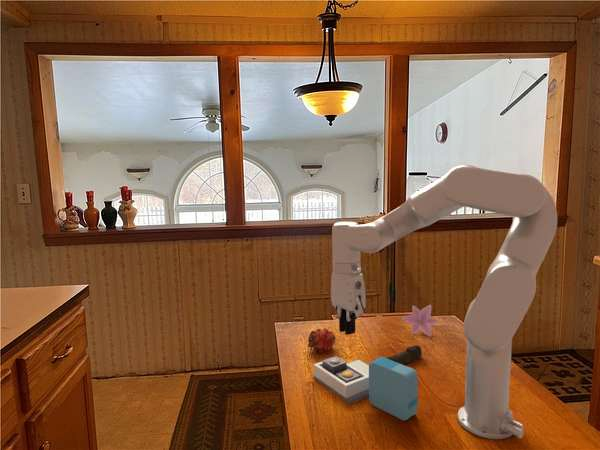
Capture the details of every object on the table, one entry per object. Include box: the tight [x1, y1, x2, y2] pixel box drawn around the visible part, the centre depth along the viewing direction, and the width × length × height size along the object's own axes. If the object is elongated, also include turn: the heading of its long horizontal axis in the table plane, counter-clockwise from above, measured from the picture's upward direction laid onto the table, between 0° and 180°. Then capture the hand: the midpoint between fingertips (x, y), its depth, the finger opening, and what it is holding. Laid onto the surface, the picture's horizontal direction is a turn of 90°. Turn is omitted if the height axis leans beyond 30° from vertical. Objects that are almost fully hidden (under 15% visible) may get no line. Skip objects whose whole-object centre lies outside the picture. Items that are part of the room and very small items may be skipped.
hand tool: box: [386, 344, 423, 365], centre depth 128 cm, size 19×4×5 cm, turn 120°
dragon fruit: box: [307, 328, 337, 354], centre depth 140 cm, size 8×8×12 cm
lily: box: [401, 304, 439, 337], centre depth 154 cm, size 12×12×10 cm
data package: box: [368, 356, 419, 421], centre depth 104 cm, size 12×4×12 cm, turn 42°
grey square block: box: [322, 355, 348, 375], centre depth 119 cm, size 5×5×3 cm
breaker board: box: [312, 358, 369, 405], centre depth 119 cm, size 17×18×4 cm
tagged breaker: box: [335, 369, 360, 383], centre depth 114 cm, size 5×5×3 cm
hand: (347, 331), depth 112 cm, fingers closed
